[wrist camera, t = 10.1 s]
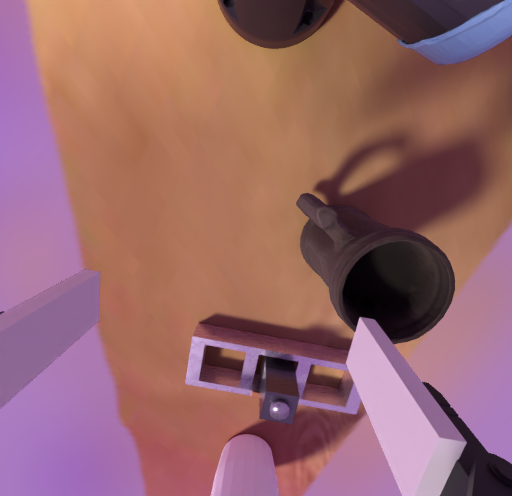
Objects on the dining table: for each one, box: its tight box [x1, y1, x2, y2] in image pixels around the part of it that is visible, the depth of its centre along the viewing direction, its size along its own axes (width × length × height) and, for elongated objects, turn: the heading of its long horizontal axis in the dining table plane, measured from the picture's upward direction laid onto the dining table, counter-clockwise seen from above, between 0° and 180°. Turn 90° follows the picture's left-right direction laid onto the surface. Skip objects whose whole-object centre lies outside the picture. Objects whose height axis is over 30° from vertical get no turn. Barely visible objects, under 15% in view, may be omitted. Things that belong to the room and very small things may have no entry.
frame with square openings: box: [185, 323, 361, 414], centre depth 45 cm, size 8×28×4 cm, turn 79°
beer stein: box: [296, 193, 455, 344], centre depth 32 cm, size 15×11×20 cm
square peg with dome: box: [259, 355, 300, 424], centre depth 42 cm, size 4×4×11 cm
